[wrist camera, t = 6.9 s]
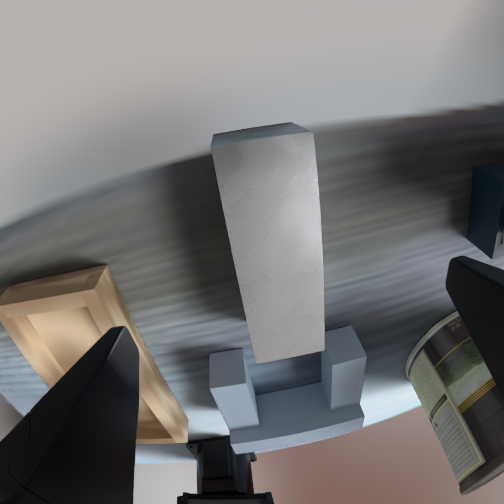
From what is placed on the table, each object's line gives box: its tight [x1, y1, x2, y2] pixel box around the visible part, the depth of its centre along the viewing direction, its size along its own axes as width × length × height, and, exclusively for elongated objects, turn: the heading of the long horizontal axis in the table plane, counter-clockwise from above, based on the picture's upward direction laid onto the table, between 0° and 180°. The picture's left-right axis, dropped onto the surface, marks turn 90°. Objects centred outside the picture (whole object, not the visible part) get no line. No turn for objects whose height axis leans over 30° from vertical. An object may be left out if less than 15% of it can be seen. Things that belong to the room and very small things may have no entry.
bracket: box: [209, 325, 367, 454], centre depth 22 cm, size 8×10×4 cm
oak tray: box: [0, 265, 188, 444], centre depth 21 cm, size 17×9×3 cm, turn 9°
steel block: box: [211, 122, 325, 364], centre depth 16 cm, size 12×4×4 cm, turn 9°
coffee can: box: [405, 311, 504, 495], centre depth 19 cm, size 10×10×14 cm
